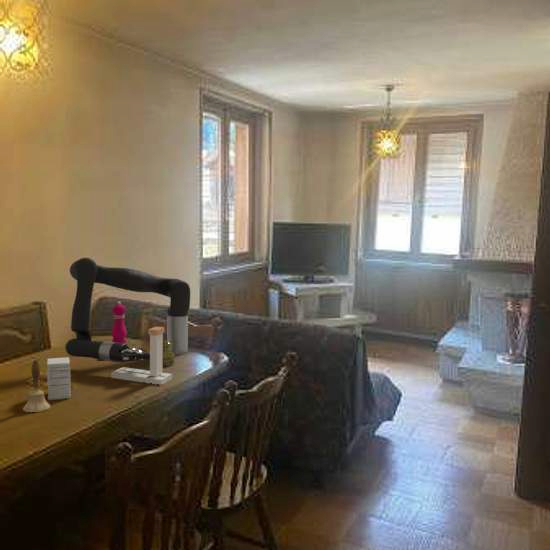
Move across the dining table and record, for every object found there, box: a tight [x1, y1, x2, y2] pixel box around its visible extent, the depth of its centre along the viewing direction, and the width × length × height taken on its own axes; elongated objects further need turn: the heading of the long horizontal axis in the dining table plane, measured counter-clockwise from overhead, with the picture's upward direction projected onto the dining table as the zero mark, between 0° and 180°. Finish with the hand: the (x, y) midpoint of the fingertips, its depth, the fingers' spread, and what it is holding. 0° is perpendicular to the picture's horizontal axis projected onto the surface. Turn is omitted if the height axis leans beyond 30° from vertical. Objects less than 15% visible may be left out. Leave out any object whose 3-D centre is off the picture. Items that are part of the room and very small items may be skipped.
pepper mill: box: [111, 300, 128, 344], centre depth 266 cm, size 7×7×20 cm
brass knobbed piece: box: [162, 339, 176, 367], centre depth 234 cm, size 7×7×10 cm
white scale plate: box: [110, 366, 173, 386], centre depth 215 cm, size 8×22×2 cm, turn 72°
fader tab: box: [147, 326, 165, 377], centre depth 211 cm, size 6×4×18 cm, turn 162°
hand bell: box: [22, 359, 51, 414], centre depth 180 cm, size 8×8×16 cm
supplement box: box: [46, 357, 72, 401], centre depth 192 cm, size 7×7×13 cm
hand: (153, 357), depth 212 cm, fingers closed
